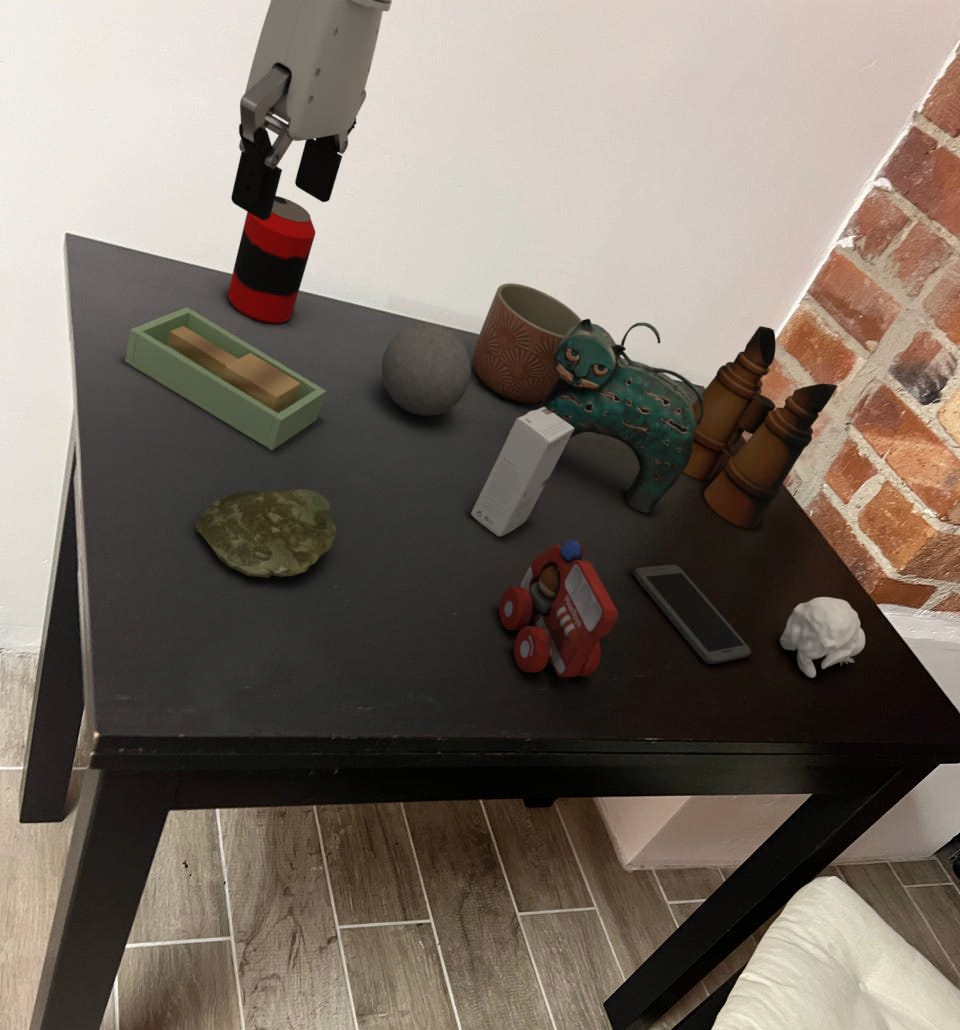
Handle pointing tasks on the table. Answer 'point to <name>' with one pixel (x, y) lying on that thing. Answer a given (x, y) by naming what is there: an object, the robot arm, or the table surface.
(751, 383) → the binoculars
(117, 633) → the table surface
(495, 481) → the cosmetic box
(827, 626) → the white frog figurine
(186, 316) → the bin
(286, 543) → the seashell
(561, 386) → the ceramic cat
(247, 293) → the soda can
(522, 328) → the planter
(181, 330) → the brush
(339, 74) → the robot arm
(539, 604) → the toy fire truck
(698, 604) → the cell phone
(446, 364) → the decorative ball
